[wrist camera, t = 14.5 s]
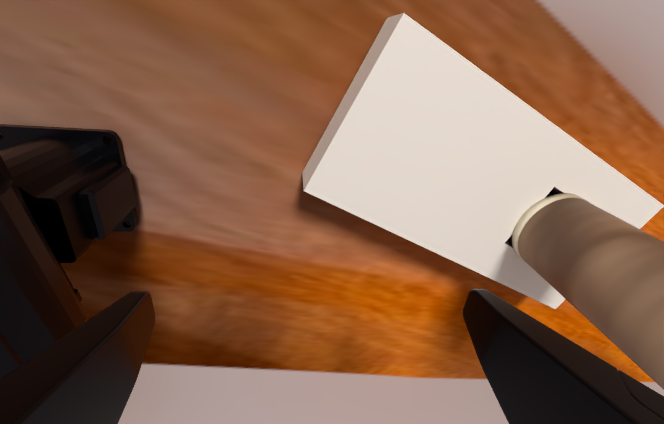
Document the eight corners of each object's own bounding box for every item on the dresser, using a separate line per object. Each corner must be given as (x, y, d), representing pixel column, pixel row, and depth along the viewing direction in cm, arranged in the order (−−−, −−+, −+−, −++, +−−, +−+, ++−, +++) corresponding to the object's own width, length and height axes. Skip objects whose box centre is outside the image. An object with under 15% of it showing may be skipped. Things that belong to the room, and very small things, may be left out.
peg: (490, 249, 25) (658, 422, 13) (492, 188, 23) (702, 336, 11) (556, 234, 25) (781, 394, 14) (566, 171, 23) (851, 301, 11)
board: (302, 172, 21) (303, 191, 18) (387, 18, 18) (403, 12, 15) (530, 283, 28) (555, 309, 25) (623, 188, 24) (664, 205, 22)
